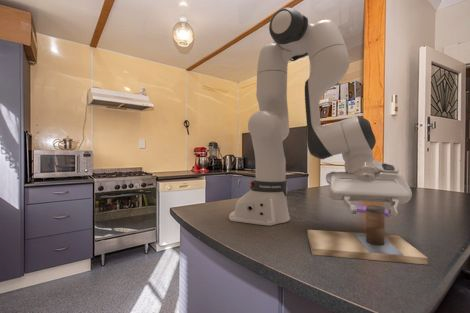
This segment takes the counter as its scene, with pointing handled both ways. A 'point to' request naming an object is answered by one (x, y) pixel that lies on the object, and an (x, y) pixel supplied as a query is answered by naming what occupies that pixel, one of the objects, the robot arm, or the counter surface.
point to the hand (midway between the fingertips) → (373, 213)
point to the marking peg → (375, 225)
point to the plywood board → (363, 247)
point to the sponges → (363, 209)
